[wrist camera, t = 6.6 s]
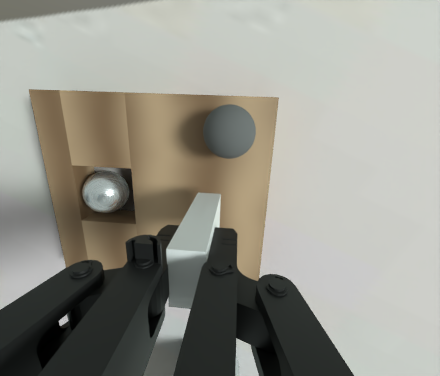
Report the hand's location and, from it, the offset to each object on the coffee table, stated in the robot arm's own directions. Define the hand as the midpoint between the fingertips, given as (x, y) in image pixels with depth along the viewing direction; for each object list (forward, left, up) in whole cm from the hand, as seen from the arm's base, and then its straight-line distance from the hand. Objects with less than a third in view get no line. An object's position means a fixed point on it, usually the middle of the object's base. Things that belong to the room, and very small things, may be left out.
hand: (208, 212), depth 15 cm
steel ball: (-9, 0, -3) cm, 9 cm away
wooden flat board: (-4, 0, -5) cm, 6 cm away
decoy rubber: (+1, +5, 0) cm, 5 cm away
